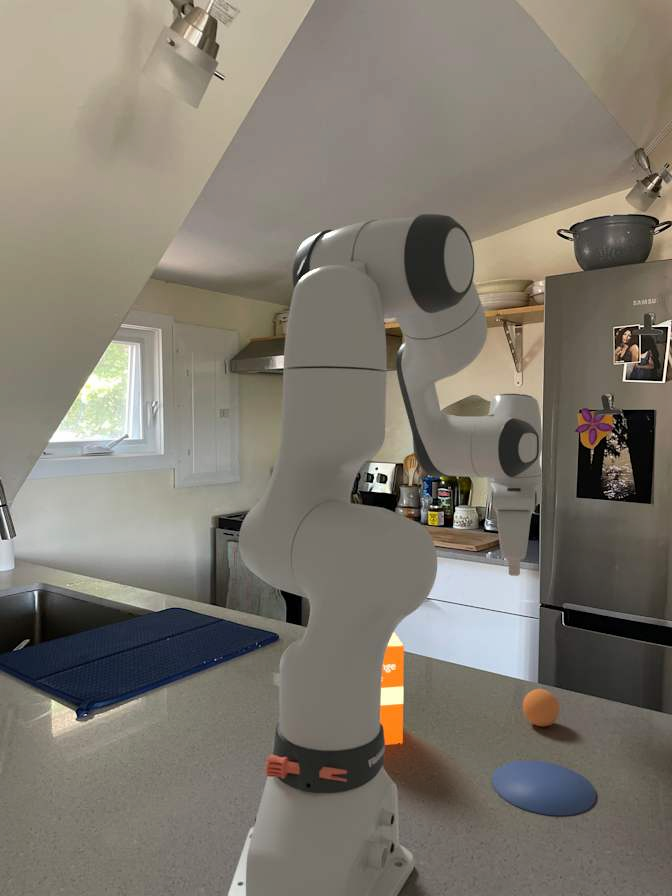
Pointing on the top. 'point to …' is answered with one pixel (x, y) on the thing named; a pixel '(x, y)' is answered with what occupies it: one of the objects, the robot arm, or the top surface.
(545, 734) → the top surface
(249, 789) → the top surface
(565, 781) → the blue flat disc
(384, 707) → the orange juice
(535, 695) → the ball
